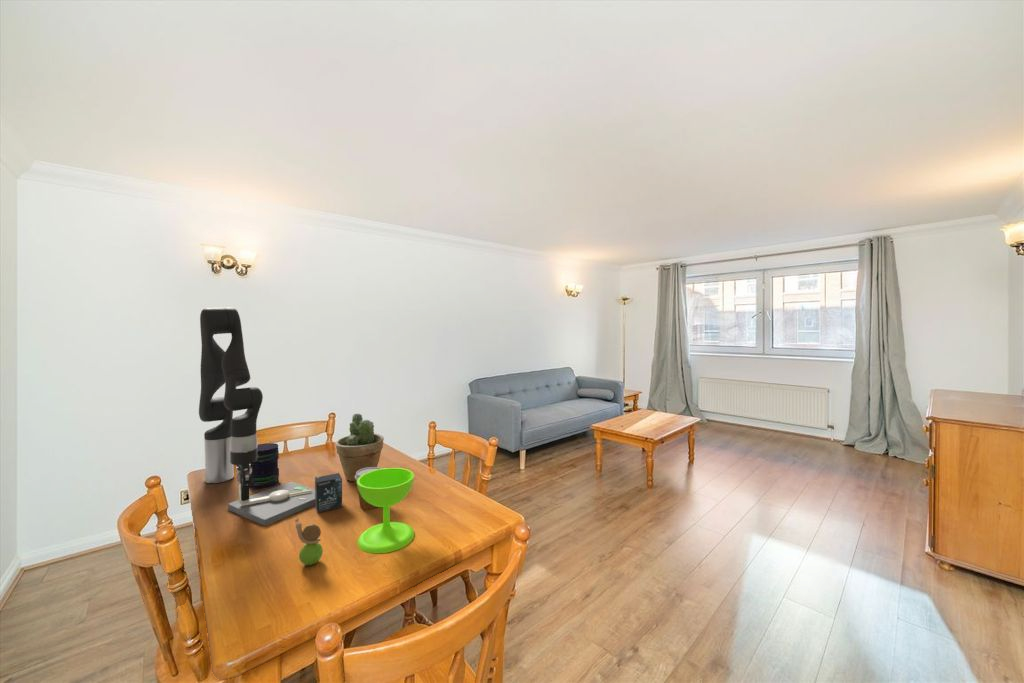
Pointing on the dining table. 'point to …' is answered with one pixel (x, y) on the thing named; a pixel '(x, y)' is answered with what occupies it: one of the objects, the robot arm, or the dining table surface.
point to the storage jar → (265, 467)
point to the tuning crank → (273, 496)
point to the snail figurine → (309, 543)
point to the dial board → (275, 504)
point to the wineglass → (385, 508)
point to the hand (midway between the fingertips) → (244, 497)
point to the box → (328, 492)
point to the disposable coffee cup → (362, 502)
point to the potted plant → (359, 447)
